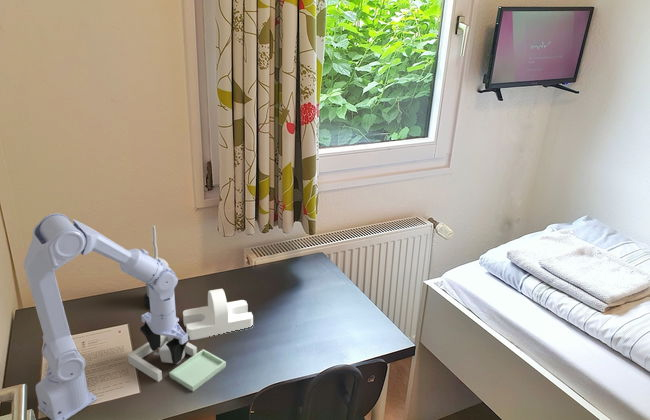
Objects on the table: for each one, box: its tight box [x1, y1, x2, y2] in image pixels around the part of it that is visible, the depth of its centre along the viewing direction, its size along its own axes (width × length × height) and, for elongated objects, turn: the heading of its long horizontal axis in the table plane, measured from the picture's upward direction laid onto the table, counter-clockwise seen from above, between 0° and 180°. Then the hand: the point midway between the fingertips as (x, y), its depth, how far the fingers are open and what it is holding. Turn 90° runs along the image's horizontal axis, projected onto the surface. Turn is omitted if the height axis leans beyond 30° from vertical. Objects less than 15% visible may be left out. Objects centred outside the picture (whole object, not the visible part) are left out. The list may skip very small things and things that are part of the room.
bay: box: [127, 335, 198, 383], centre depth 130 cm, size 12×11×2 cm
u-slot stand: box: [182, 288, 254, 341], centre depth 143 cm, size 10×18×11 cm, turn 113°
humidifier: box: [144, 225, 170, 310], centre depth 148 cm, size 8×8×25 cm
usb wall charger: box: [152, 342, 186, 365], centre depth 129 cm, size 4×7×4 cm, turn 75°
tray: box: [169, 348, 227, 393], centre depth 127 cm, size 11×8×2 cm
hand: (166, 355), depth 129 cm, fingers closed on usb wall charger, 7 cm apart
